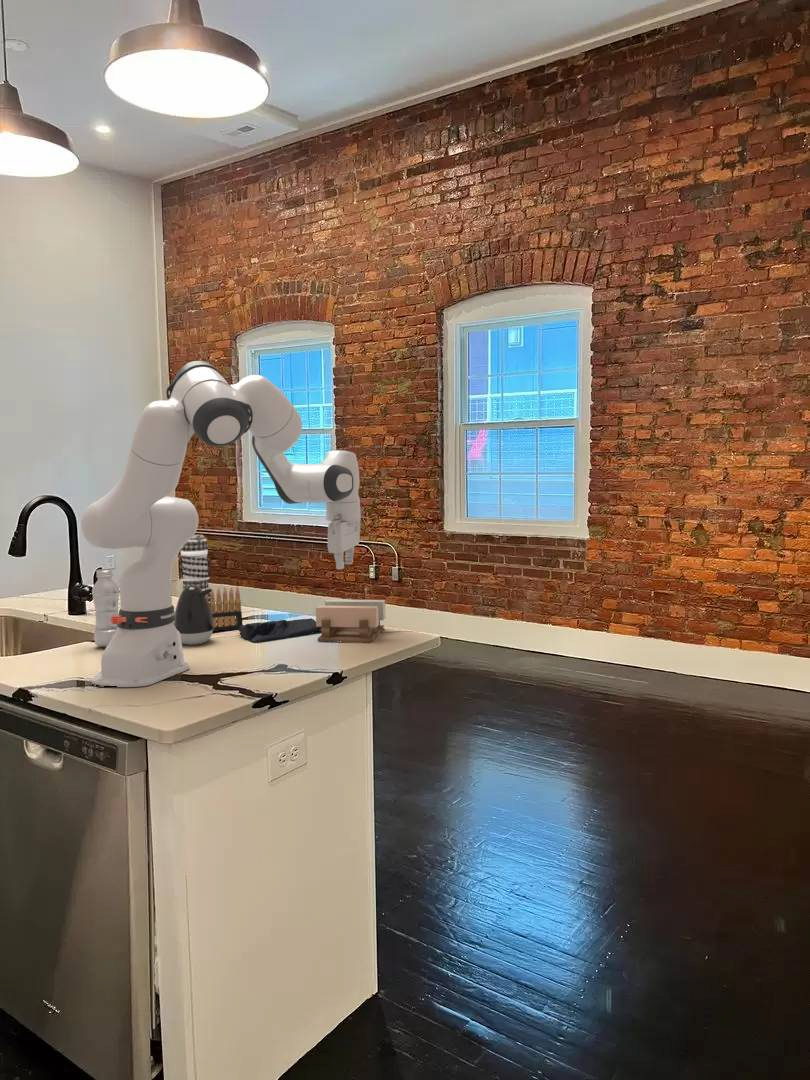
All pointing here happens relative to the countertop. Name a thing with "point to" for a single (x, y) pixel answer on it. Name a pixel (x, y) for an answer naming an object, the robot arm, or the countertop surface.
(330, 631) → the walnut drying rack
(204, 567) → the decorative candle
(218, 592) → the ammunition clip
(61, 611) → the countertop surface
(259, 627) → the dark slate chunk
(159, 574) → the robot arm
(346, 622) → the clay strip
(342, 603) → the cream rectangular bar
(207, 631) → the pump dispenser
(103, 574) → the plastic bottle
